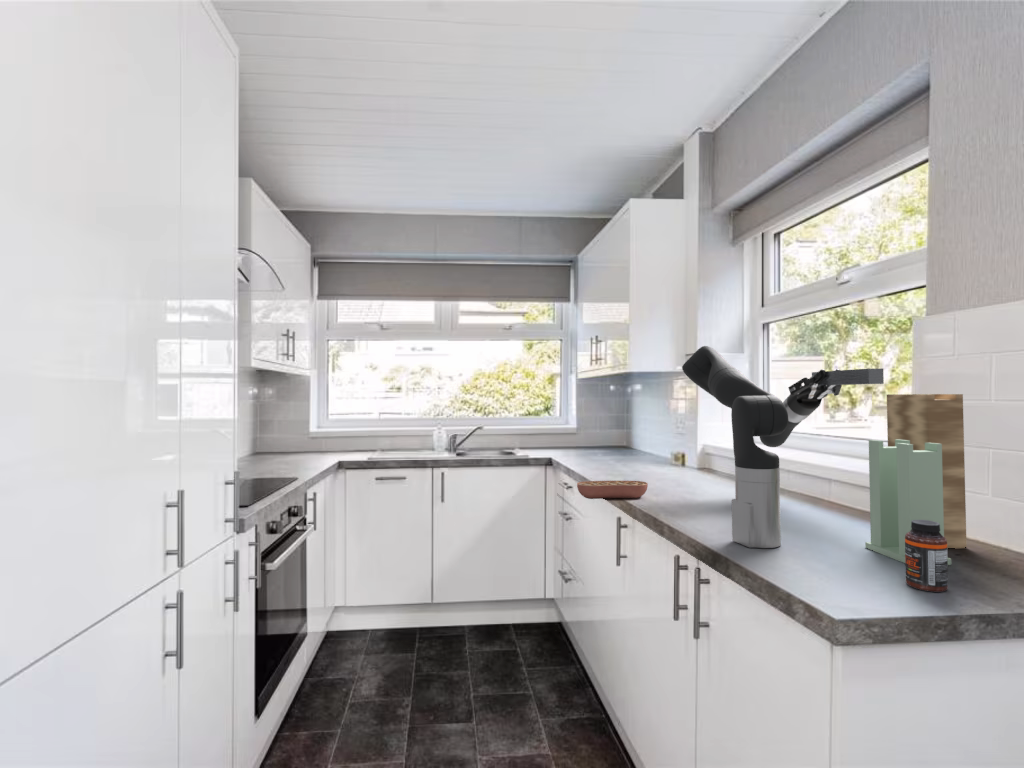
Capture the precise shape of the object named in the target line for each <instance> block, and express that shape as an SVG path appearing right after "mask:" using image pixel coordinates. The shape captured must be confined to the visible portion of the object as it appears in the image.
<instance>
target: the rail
mask: <svg viewBox="0 0 1024 768" xmlns="http://www.w3.org/2000/svg"><path fill="white" fill-rule="evenodd" d="M817 372H818V371H814V372H813V371H811V377H812V376H814V375H815V374H816V373H817ZM825 372H826V375H827V376H826V377H825V378H824V379H823V380H822V381H821V382H820V383H818V385H842V386H843V385H844V386H849V385H851V386H853V385H883V384H884V368H860V369H859V368H858V369H855V368H854V369H840V371H835V370H828V371H826V370H825Z"/></svg>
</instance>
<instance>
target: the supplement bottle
mask: <svg viewBox="0 0 1024 768" xmlns="http://www.w3.org/2000/svg"><path fill="white" fill-rule="evenodd" d="M911 528H912V529H911V531H910V532H908V533H907V534H906V535H905V563H904V564H905V565H904V567H905V568H904V569H905V571H904V573H905V582H906V584H907V585H908V586H910V587H911V588H914V589H917V590H918V591H919V590H920V591H923V590H924V591H925V592H929V591H930V592H931V593H942V592H946V591H947V590H948V588H949V573H948V572H949V569H948V567H949V565H948V558H949V557H948V549H947V540H946V538H945V537H944V536H942V535H941V534H940V532H939V531H940V524H939V523H937V522H934V521H929V520H912V521H911Z"/></svg>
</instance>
